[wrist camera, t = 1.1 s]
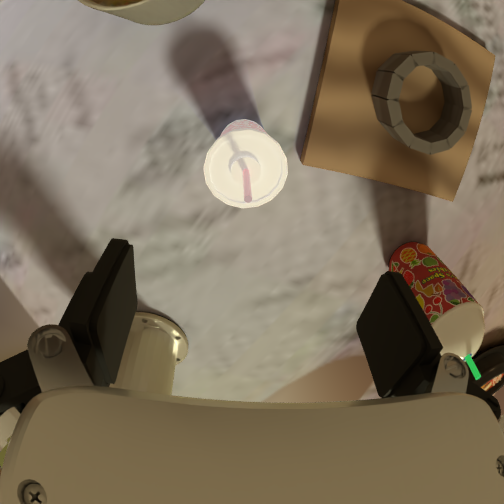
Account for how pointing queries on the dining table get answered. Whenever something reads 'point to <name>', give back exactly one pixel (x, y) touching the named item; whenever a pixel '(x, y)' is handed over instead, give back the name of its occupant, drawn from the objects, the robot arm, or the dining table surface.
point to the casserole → (489, 369)
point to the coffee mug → (146, 9)
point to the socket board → (397, 97)
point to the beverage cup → (245, 165)
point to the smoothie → (442, 301)
